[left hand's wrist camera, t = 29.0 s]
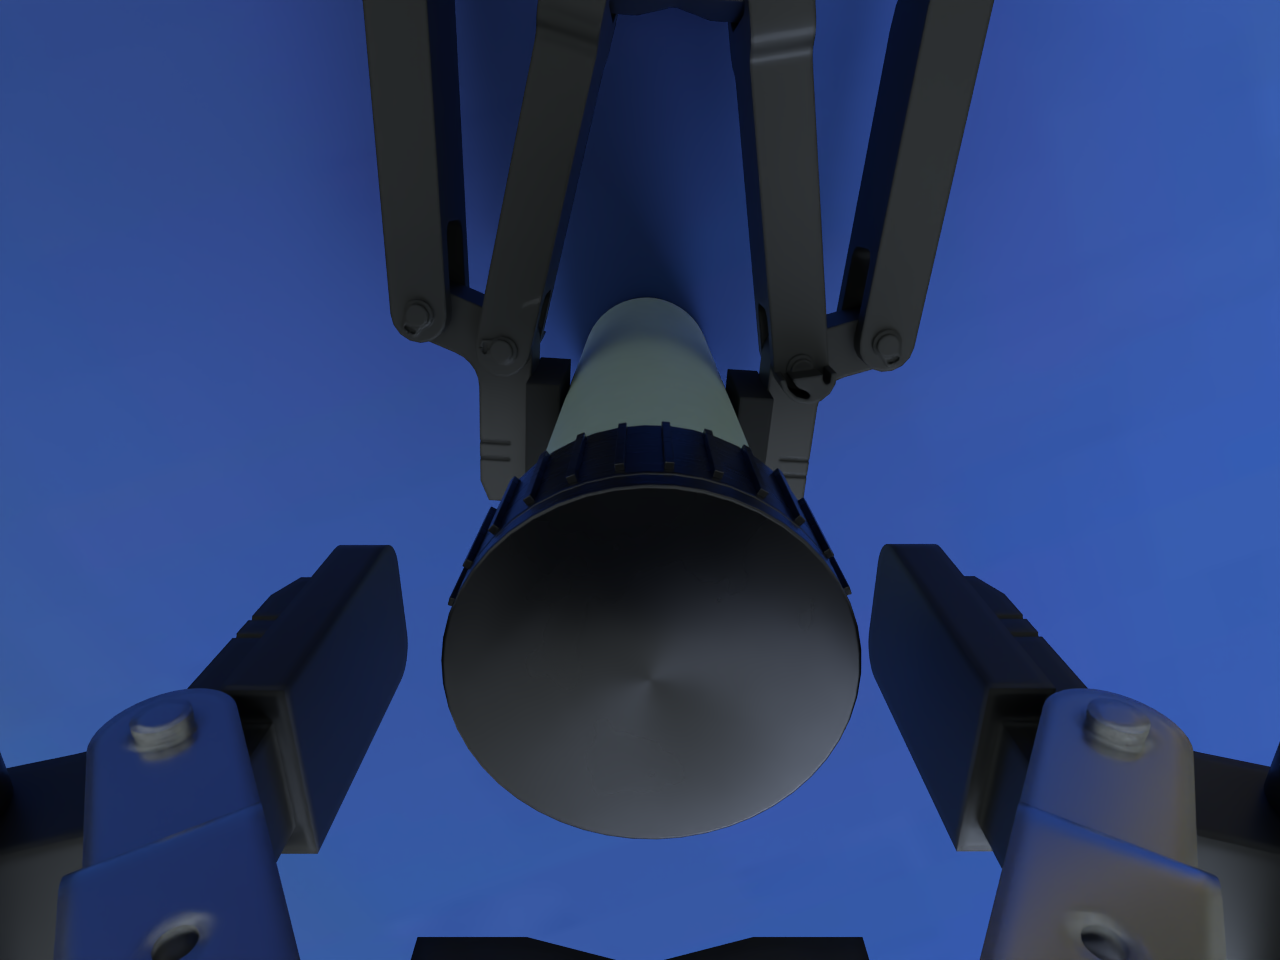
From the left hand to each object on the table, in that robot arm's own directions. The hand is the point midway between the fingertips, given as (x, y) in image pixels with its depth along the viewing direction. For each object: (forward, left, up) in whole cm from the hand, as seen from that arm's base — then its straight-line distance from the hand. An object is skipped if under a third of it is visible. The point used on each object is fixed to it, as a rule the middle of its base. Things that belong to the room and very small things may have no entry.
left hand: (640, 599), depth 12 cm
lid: (0, +1, +3) cm, 3 cm away
